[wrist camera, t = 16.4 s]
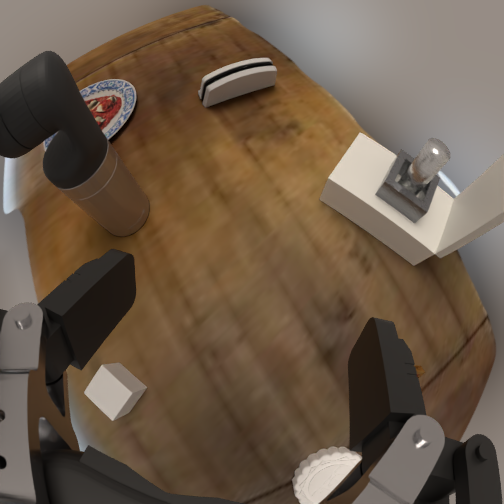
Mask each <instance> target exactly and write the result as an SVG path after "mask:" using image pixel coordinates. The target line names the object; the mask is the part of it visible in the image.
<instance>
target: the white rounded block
mask: <svg viewBox="0 0 504 504" xmlns="http://www.w3.org/2000/svg"><path fill="white" fill-rule="evenodd" d="M272 64H273V62H272V61H271V60H270V59H269V58H257V59H250V60H245V61H240V62H237V63H234V64H231V65H228V66H225V67H223V68H220V69H218V70H216V71H214V72H212V73H210V74H208V75H206V76H205V77H204V78H203V79H202V83H201V88H200V90H199V91H198V95H199V96H200V99H202V100H203V99H204V100H203V105H204V106H205V107H209V106H211V105H214V104H217V103H220V102H222V101H225V100H228V99H231V98H234V97H237V96H240V95H243V94H246V93H249V92H252V91H256V90H259V89H262V88H266V87H269V86H273V85H275V80H276V75H277V70H276V67H275V66H273V65H272Z"/></svg>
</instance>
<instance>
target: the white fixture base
mask: <svg viewBox="0 0 504 504" xmlns="http://www.w3.org/2000/svg"><path fill="white" fill-rule="evenodd" d="M395 158H396V155H395V154H393V153H392V152H390V151H389V150H387V149H386V148H384V147H383V146H381V145H380V144H378V143H377V142H375V141H373V140H372V139H370V138H369V137H367V136H365V135H364V134H362V133H359V135H358V136H357V138H356V139H355V140H354V142H353V143H352V145H351V146H350V148H349V149H348V151H347V152H346V153H345V155H344V156H343V158H342V159H341V161H340V162H339V163H338V165H337V166H336V168H335V169H334V171H333V172H332V173H331V175H330V176H329V178H328V180H327V182H326V185H325V187H324V189H323V192H322V194H321V197H320V199H319V200H321V201H322V202H324V203H326V204H327V205H329V206H330V207H332V208H333V209H335V210H336V211H338V212H339V213H341V214H342V215H344V216H345V217H347V218H348V219H350V220H351V221H352V222H354V223H355V224H357V225H358V226H360V227H361V228H363V229H364V230H366V231H367V232H368V233H370V234H371V235H373V236H374V237H375V238H377V239H378V240H380V241H381V242H382V243H384V244H385V245H386V246H388V247H389V248H391V249H392V250H393V251H395V252H396V253H397V254H399V255H400V256H401V257H403V258H404V259H405V260H407V261H408V262H409V263H411V264H412V265H413V266H414V265H416V264H418V263H420V262H422V261H423V260H425V259H427V258H429V257H431V256H432V255H434V254H435V255H437V256H438V257H439V258H442V257H444V256H446V255H448V254H450V253H451V252H453V251H455V250H457V249H459V248H460V247H462V246H464V245H466V244H467V243H469V242H471V241H473V240H475V239H476V238H478V237H480V236H481V235H483V234H485V233H486V232H488V231H490V230H491V229H493V228H495V227H496V226H498V225H500V224H501V223H503V222H504V154H503V155H502V156H501V157H500V158H499V159H498V160H497V161H496V162H495V163H494V164H493V165H492V166H490V167H489V168H488V169H487V170H486V171H485V172H484V173H483V174H482V175H481V176H480V177H478V178H477V179H476V180H475V181H474V182H473V183H472V184H471V185H470V186H468V187H467V188H466V189H465V190H464V191H463V192H461V193H460V194H459V195H458V196H457V197H456V198H454V199H453V198H452V197H450V196H449V195H448V194H447V193H446V192H444V191H443V190H442V189H441V188H440V187H438V186H437V188H436V191H435V193H434V196H433V199H432V202H431V204H430V207H429V210H428V212H427V213H426V214H425V215H424V216H423V217H422V218H420V219H419V220H418V221H417V222H416V223H413V222H412V221H411V220H409V219H408V218H407V217H405V216H404V215H403V214H401V213H400V212H399V211H397V210H396V209H395V208H393V207H392V206H390V205H389V204H388V203H386V202H385V201H383V200H382V199H381V198H379V197H378V196H376V195H375V194H376V192H377V190H378V188H379V186H380V185H381V183H382V181H383V179H384V177H385V175H386V173H387V172H388V170H389V168H390V166H391V164H392V162H393V161H394V159H395ZM401 177H402V176H401V175H399V174H398V175H397V177H396V179H395V181H396V182H398V181H399V179H400V178H401ZM419 194H420V192H419ZM419 194H418V195H417V196H416V197H418V196H419Z"/></svg>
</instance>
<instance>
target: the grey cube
mask: <svg viewBox="0 0 504 504" xmlns="http://www.w3.org/2000/svg"><path fill="white" fill-rule="evenodd" d="M146 389H147V387H146V386H145V385H144V384H143V383H142V382H141V381H139V380H138V379H137V378H136V377H135V376H134V375H133V374H132V373H130V372H129V371H128V370H127V369H126V368H125V367H124V366H123V365H122V364H121V363H112V364H103V365H101V367H100V368H99V370H98V371H97V373H96V374H95V376H94V378H93V379H92V381H91V382H90V384H89V385H88V387H87V388H86V390H85V392H84V393H85V395H86V396H87V397H88V398H89V399H90V400H91V401H92V402H93V403H94V404H95V405H96V406H97V407H98V408H99V409H100V410H102V411H103V412H104V413H105V414H106V415H107V416H108V417H109V418H110V419H111V420H112V421H114V420H116V419H118V418H120V417H122V416H124V415H126V414H128V413H129V412H130V411H131V409H132V408H133V407H134V405H135V404H136V402H137V401H138V400H139V398H140V397H141V396H142V394H143V393H144V391H145V390H146Z"/></svg>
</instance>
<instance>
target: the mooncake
mask: <svg viewBox="0 0 504 504" xmlns="http://www.w3.org/2000/svg"><path fill="white" fill-rule="evenodd" d="M360 460H362V457H361V456H360V455H359V454H357V453H356V452H355V451H350V449H349V450H348V449H347V448H346V447H339V448H337V447H330V448H328V449H320V450H319V451H318V452H317V453H313V454H310V455H309V456H308V457H307V460H303V461H302V462H301V463H300V465H299V468H297V469H296V470H295V472H294V474H295V476H294V477H293V479H292V482H293V489H294V493H295V496H296V497H297V498H298V499H299V502H300V503H301V504H319V503H320V502H321V501H322V500H323V499H324V498H325V497H326V496H327V495H328V494H329V493H330V492H331V491H332V490H333V489H334V488H335V487H336V486H337V485H338V484H339V483H340V482H341V481H342V480H343V479H344V478H345V477H346V476H347V474H348V473H349V472H350V471H351V470H352V469H353V468H354V467H355V465H356V464H357V463H358V462H359V461H360Z"/></svg>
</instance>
